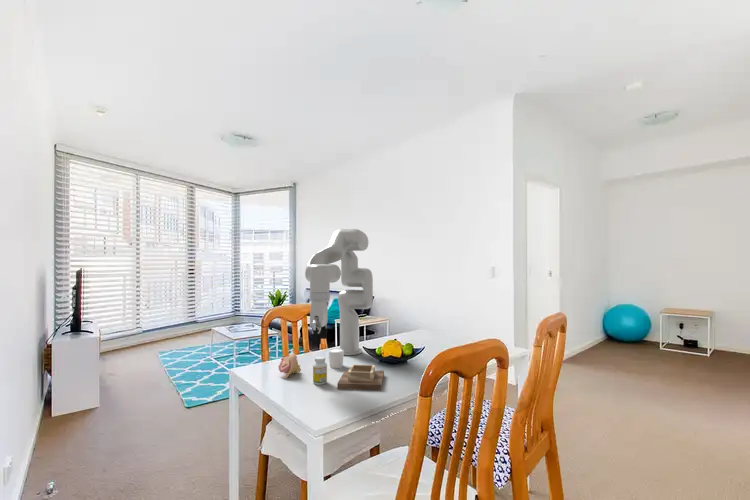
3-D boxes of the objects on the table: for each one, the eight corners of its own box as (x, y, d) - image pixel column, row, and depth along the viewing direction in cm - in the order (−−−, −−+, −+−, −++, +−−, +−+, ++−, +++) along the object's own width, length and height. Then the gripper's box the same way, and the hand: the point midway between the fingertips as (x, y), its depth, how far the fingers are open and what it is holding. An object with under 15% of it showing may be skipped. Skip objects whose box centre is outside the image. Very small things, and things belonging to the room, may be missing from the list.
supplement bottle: (324, 385, 137) (324, 360, 138) (310, 384, 139) (310, 359, 139) (329, 380, 143) (329, 356, 143) (316, 379, 144) (316, 355, 144)
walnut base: (345, 374, 150) (345, 361, 150) (384, 375, 148) (383, 362, 148) (337, 388, 134) (337, 374, 134) (380, 390, 132) (380, 375, 132)
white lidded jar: (345, 364, 164) (345, 348, 164) (342, 368, 158) (342, 352, 158) (330, 363, 165) (330, 348, 165) (326, 368, 158) (326, 352, 158)
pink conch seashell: (296, 370, 157) (308, 357, 154) (291, 389, 148) (303, 375, 145) (278, 360, 155) (289, 347, 151) (271, 379, 146) (283, 365, 142)
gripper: (316, 294, 150) (315, 336, 149) (303, 299, 133) (303, 346, 132) (334, 294, 149) (333, 336, 149) (324, 299, 132) (323, 346, 132)
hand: (319, 341), depth 140 cm, fingers open, 9 cm apart
